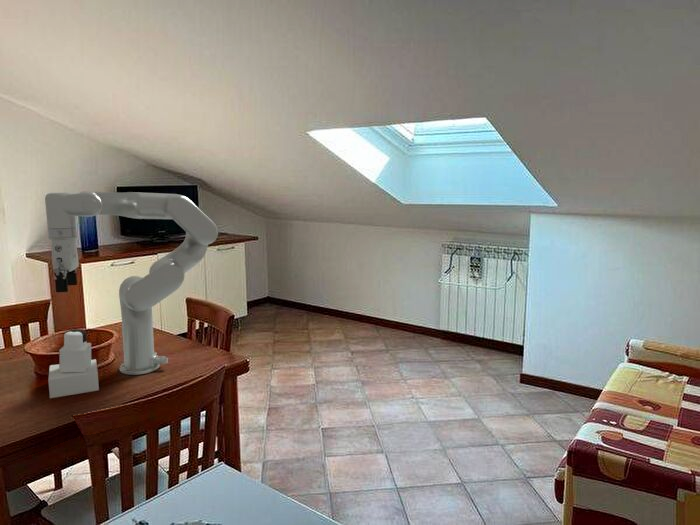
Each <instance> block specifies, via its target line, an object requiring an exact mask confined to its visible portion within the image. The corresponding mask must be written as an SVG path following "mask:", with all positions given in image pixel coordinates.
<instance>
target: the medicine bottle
mask: <svg viewBox="0 0 700 525" xmlns="http://www.w3.org/2000/svg"><path fill="white" fill-rule="evenodd" d="M58 359H59V360H58V361H59V363H58V364H59V370H60V372H85V371H86V370H87V369H88V367H89V366H90V365H91V360H92V343H91V342H87V331H86V330H85V329H84V330H83V329H80V328H79V329H78V328H77V329H76V328H75V329H69V330H67V331H65V332H64V333H63V346H62V347H61V348H60V349H59V350H58Z"/></svg>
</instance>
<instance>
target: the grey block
mask: <svg viewBox="0 0 700 525" xmlns="http://www.w3.org/2000/svg"><path fill="white" fill-rule="evenodd" d="M48 370H49V371H48V380H47V381H48V391H49V399H53V398H60V397H67V396H71V395H72V396H73V395H79V394H84V393H90V392H96V391H99V390H100V386H99V385H100V384H99V383H100V382H99V373H98V365H97V359H96V358H95V359H91V365H90V366H89V367H88V369H87V370H86V371H85V372H60V370H59V363H58V364H51V365H49V369H48Z"/></svg>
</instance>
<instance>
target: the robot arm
mask: <svg viewBox="0 0 700 525" xmlns="http://www.w3.org/2000/svg"><path fill="white" fill-rule="evenodd" d="M44 202H45V213H46V214H45V215H46V225H47V233H48V234H47V235H48V240H51V263H52V269H53V271H54V273H53V275H54V285H55V292H56V293H68V292H69V286H77V285H78V275H77V268H79V267H80V262H79V261H80V260H79V254H78V246H77V241H76V238H77V226H76V217H85V218H90V217H95V216H97V215H101V216H106V215H107V216H120V217H124V218H125V217H126V218H131V219H136V220H137V219H138V220H143V219H144V220H172V221H174V222H175V223H176V224H177V225H178V226H179V227H180V228H181V229H183V230H184V232H185V238H184V240H183V242H182V243H181V244H180V245H179V246H177V247H176V248H175V249H174V250H172V251H170V252H169V253H168V254H165V255H164V256H163V257H161V258H159V259H158V260H156V261H154V262H153V263H152V264H151V266H150V268H149V270H148V274H147V275H145V276H143V277H141V276H139V275H138V276H137V275H132V276H129V277H127V278H124V280H123V281H122V282H121V284H120V286H119V289H118V297H119V305H120V306H119V307H120V314H121V332H122V346H123V347H122V348H123V362H124V363H122V364H121V365H119V372H120V373H122V374H124V375H131V376H139V375H145V374H149V373H151V372H154V371H156V370H158V369H159V368H160V364H168V361H169V359H168V357H166V355H157V354H158V353H157V351H155V343H154V342H155V341H154V325H153V324H154V321H153V319H154V318H153V307H155V306H156V305H157V304H159V303H160V302H162V301H163V300H164V299H166V298H168V297H169V296H170V295H172V294H173V293H175V292H176V291H177V290H179V288H180V287H181V286H182V285H183V284H184V281H185V273H187V272H189V271H190V270H191V269H192V268H194V267H195V266H196V265H197V264H199V263H200V262H201V261H202V259H203V258H204V257H205V256H206V253H207V251H208V248H209V245H211V244H213V243H215V241H216V240H217V238H218V235H219V229H218V227H217V225H216V223H215V222H214V221H213V220H212V219H211V218H210V217H209V216H207V214H205V213H204V212H203V211H202V210H201V209H200V208H199V207H198V205H196V203H194V202H193V201H192V200H191V199H190V198H189V197H187V196H185V195H182V194H177V193H162V192H161V193H160V192H159V193H158V192H139V191H138V192H135V191H134V192H133V191H127V192H113V191H112V192H111V191H110V192H109V191H91V190H86V191H85V190H84V191H80V192H78V193H69V192H49V193H47V194H45V196H44Z"/></svg>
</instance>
